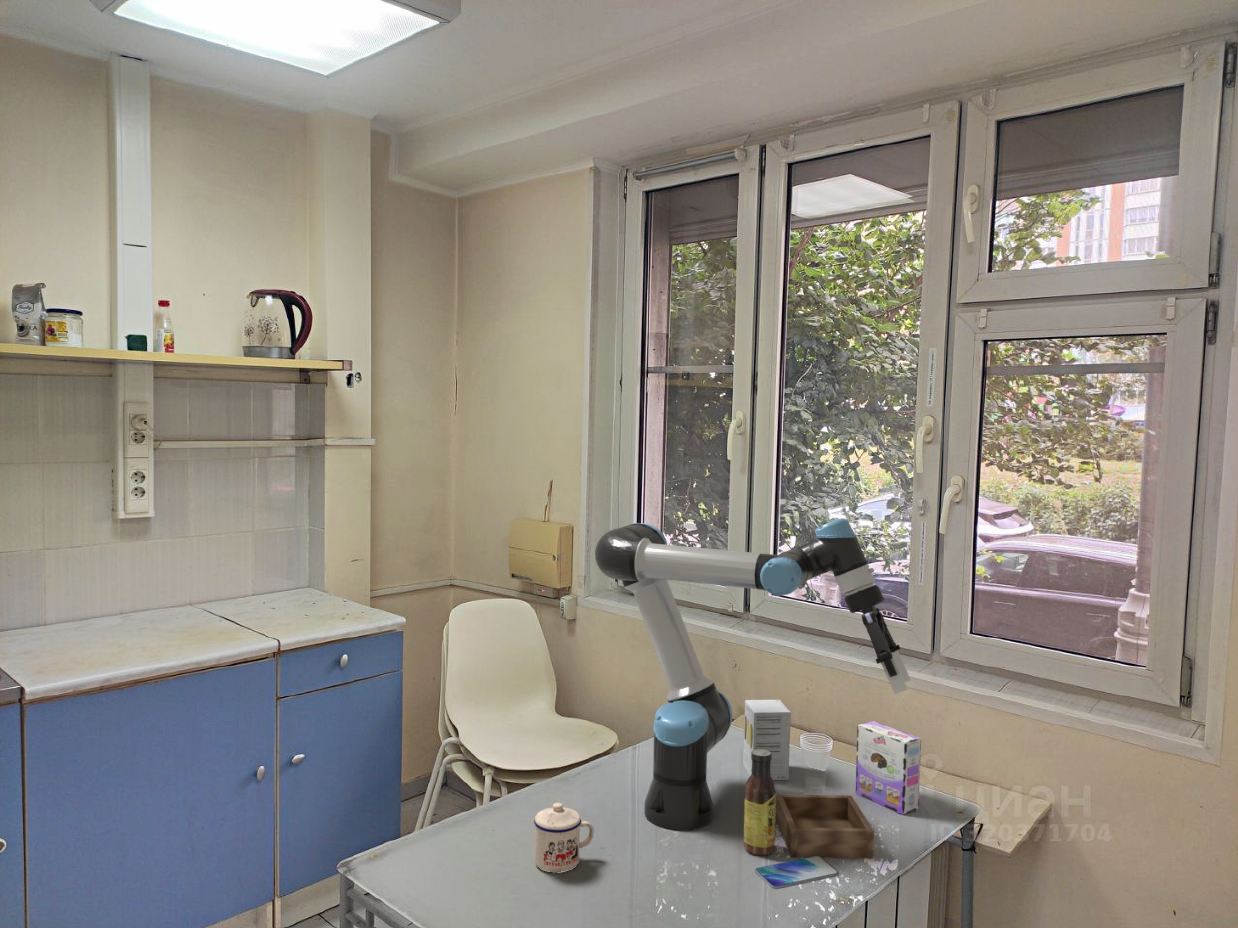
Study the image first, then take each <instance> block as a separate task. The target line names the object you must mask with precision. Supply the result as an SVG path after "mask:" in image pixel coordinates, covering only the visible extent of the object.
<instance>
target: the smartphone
mask: <svg viewBox="0 0 1238 928" xmlns="http://www.w3.org/2000/svg"><path fill="white" fill-rule="evenodd" d="M754 873H755V874H756V875H757V876H758V877H760V879H761V880H762V881H763V882H765V883H766V884H767V885H768V886H769V887H770V888H771V889H772V890H778V889H782V888H786V887H787V888H788V887H791V886H796V885H801V884H805V883H810V882H815V881H818V880H824V879H829V878H833V877H838V876H839V875H840V872H839V871H838V870H837V868H835V867H834V866H833V865H831V864H830V863H829V862H828V861H826V859H824V858H822V857H820V856H812V857H802V858H799V859H798V858H797V859H793V860H789V861H783V862H780V863H779V862H778V863H774V864H770V865H763V866H760V867H756V868H755V869H754Z"/></svg>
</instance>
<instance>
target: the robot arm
mask: <svg viewBox="0 0 1238 928" xmlns="http://www.w3.org/2000/svg"><path fill="white" fill-rule="evenodd" d="M814 532H815V537H816V538H813V539H812V540H810V541H808V542H806V543H803V544H801V545H798V546H796V547H792V548H791V549H788V550H786V551H783V552H781V553H778V554H772V553H771V554H770V553H760V552H749V551H737V550H727V549H718V548H717V549H715V548H707V547H694V546H684V545H674V544H668V542H667V538H666V537H665V535H664V534H663V532H662V531H661V530H660V529H659V528H657V527H656V526H654V525H652V524H651V523H650V524H649V523H646V522H643V523H642V522H641V523H639V522H637V523H635V522H633V523H632V524H628V525H625V526H621V527H619V528H618V527H617V528H614V529H611V530H609V531H607V532H605V533H604V534H603V535H602V536H601V537H600V538H599V540H598V541H597V543H596V546H595V549H594V558H595V562H596V565H597V567H598V569H599V570H600V571H601V572H602V573H603V575H604V576H607V578H609V579H612V580H616V581H617V580H618V581H621V582H622V585H623V588H624V589H625V590H628V591H630V592H632V593H633V596H634V598H635V601H636V604H637V606H638V609H639V611H640V614H641V616H642V620H643V622H644V624H645V625H644V626H645V628H646V630H647V633H648V635H649V637H650V640H651V643H652V645H653V648H654V650H655V653H656V656H657V658H658V661H659V663H660V666H661V668H662V672H663V673H664V674H663V675H664V677H665V679H666V681H667V684H668V688H669V691H668V693H667V694H668V695H667V697H666V701H667V702H666V703H665V704H663V705H661V706H660V707H659V708H658V709H657V711H656V712H655V715H654V721H653V726H652V728H653V755H652V756H653V762H652V763H653V767H652V768H653V769H652V770H653V771H652V780H651V784H650V786H649V789H648V792H647V794H646V797H645V800H644V810H643V811H644V812H643V813H644V816H645V818H646V819H647V820H648V821H649V822H651V823H652V824H654V825H656V826H659V827H662V828H665V829H671V830H693V829H699V828H703V827H704V826H707V825H708V824H710V823H711V822H712V821H713V819H714V817H715V816H714V815H715V811H714V810H715V807H714V803H713V798H712V795H711V794H712V793H711V791H710V788H709V785H708V782H707V781H708V780H707V771H708V770H707V767H708V766H707V765H708V753H709V752H710V751H711V750H712V749H713V748H714V747H715V746H716V745H717V744H718V743H719V742H720V741H722V740H723V739H724V738H725V736H726V735H727V734H728V731H729V730H730V728H731V725H732V722H733V709H732V706H731V704H730V701H729V700H728V698H727V697H726V696H725V694H723V693H721V692H720V691H719V690H717V686H716V685H715V681H714V679H711V678H709V677H706V676H705V674H704V671H703V668H702V666H701V664H700V661H699V658H698V655H697V653H696V651H695V648H694V645H693V642H692V640H691V637H690V635H689V631H688V630H687V628H686V625H685V622H684V620H683V617H682V615H681V612H680V609H679V607H678V605H677V602H676V599H675V597H674V595H673V591H672V588H671V587H670V584H669V581H677V582H687V583H695V584H704V585H714V586H721V587H722V586H724V587H733V588H741V589H742V588H743V589H752V590H760V591H766V592H768V593H769V594H771V595H772V596H777V597H778V596H779V597H781V596H786V595H790V594H792V593H794V592H795V591H796V590H797V589H799V588H800V587H801V586H802V585H804V584H805V583H806V582H808V581H809V580H812V579H815V578H816V577H819V576H821V575H824V574H826V573H829V572H830V571H831V572H832V574H833V576H834V579H835V582H836V584H837V586H838V588H839V591H840V593H841V595H845V596H844V601H845V603H846V607H847V608H848V610H849V612H850V613H851V614H854V613H859V612H860V611H861V612H862V615H861V620H862V622H863V623H862V624H863V625H864V626H865V629H866V631H867V634H868V636H869V638H870V641H871V644H872V646H873V648H874V652H875V655H876V658H875V662H876V664H877V665H878V664H881V667H882V669H883V672H884V673H885V676H886V678H887V680H888V682H889V684H890V686H891V689H892V691H893V693H894V695H896V694H899V693H901V692H902V693H903V692H905V691H907V690H909V688H908V686H907V684H906V683H908V682H909V681H911V677H910V675H909V673H908V671H907V668H906V666H905V664H904V662H903V660H902V657H901V655H900V652H899V650H901V646H900V645H899V644H896V642H895V640H894V639H893V637H892V635H891V632H890V630H889V629H888V626H887V623H886V621H885V618H884V615H883V614H882V612H880V609H879V608H878V607H876V606H875V605H879V604H882V603H883V602H884V600H885V599H884V596H883V593H882V591H881V589H880V587H879V585H875V584H874V583H875V582H876V578H875V576H874V574H873V573H874V572H875V569H874V568H873V567H870V566H869V563H868V561H867V559H866V557H865V554H864V552H863V549H862V546H861V545H860V542H859V539H858V536H857V534H855V532H854V530H853V528H852V526H851V524H850V522H849V521H848V519H846V518H837V519H834V520H831V521H830V522H827V523H825V524H823V525H820V526H819V527H817V528H815V531H814Z"/></svg>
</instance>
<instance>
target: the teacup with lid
mask: <svg viewBox="0 0 1238 928" xmlns="http://www.w3.org/2000/svg"><path fill="white" fill-rule="evenodd" d="M533 823H534V826H535V827H534V828H535V829H534V832H535V833H534V864H535V863H536V864H535V866H536V865H537V866H538V867H540V868H541V869H543V870H546V871H550V872H561V871H566V870H570V869H572V868H574V867H575V866H577V864H578V863H579V864H580V849H582V848H584V847H587V846H589V844H590V843H591V842H592V840H593V839H594V834H595V828H594V826H593V824H592V823H591V822H589V821H585V820H584V821H582V818H581V816H580V814H579V812H577V811H576V810H574V809H572V808H569V807H565V806H564V805H563V804H562V803H561V802H555V803H553V804H552V807H547V808H544V809H542V810H541V811H539V812H537V814H536V815H535V817H534V819H533ZM583 827H588V828H589V833H588V836H587V838H586V839H585V840H583V841H582V842H580V837H581V835H580V833H581V828H583ZM579 864H578V865H579ZM537 866H536V867H537ZM538 867H537V868H538ZM577 867H578V866H577Z"/></svg>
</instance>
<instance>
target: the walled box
mask: <svg viewBox="0 0 1238 928" xmlns="http://www.w3.org/2000/svg"><path fill="white" fill-rule="evenodd" d="M775 823H776V825H777V827H778V829H779V832H780V834H781V837H782V840H783V842H784V844H785V846H786V848H787V851H788V855H789V856H790V858H807V857H812V856H820V857H822V858H823V859H824V858H826V859H827V858H829V859H874V847H875V845H874V844H875V843H874V841H875V830H874V829H873V827H872V826H871V824H870V822H869V821H868V819H867V817H866V816H865V815H864V812H863V811H862V810H861V808H860V806H859V805H858V803H857V802H856V800H855V798H854V797H853V796H852V795H851V794H849V795H847V794H846V795H843V794H842V795H839V794H837V795H835V794H834V795H833V794H777V793H776V816H775Z"/></svg>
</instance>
